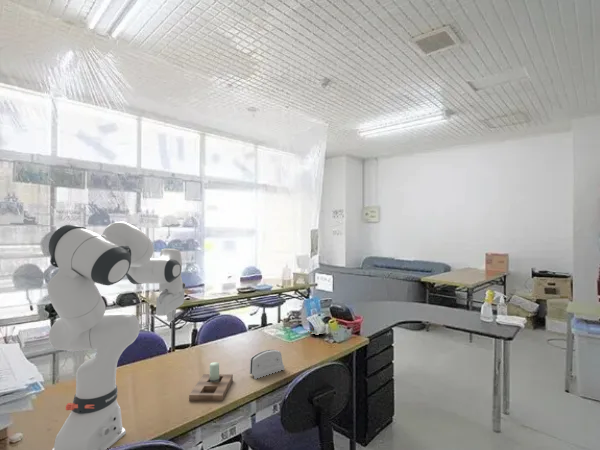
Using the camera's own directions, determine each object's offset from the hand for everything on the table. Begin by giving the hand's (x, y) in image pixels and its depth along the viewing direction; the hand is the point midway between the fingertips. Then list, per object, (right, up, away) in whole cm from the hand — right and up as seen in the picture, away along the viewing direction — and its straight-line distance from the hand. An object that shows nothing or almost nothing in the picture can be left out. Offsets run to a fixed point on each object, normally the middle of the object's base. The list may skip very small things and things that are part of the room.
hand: (170, 320), depth 138 cm
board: (+17, -29, +1) cm, 34 cm away
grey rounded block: (+38, -30, +17) cm, 51 cm away
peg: (+17, -29, +5) cm, 34 cm away
